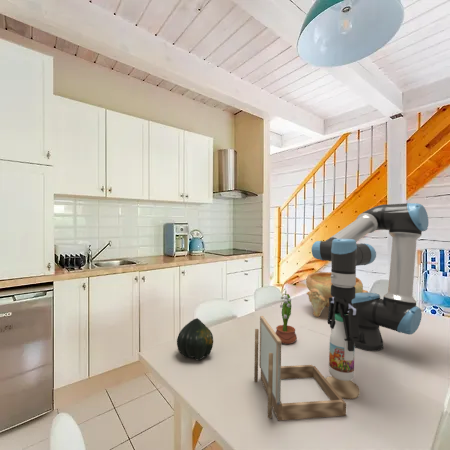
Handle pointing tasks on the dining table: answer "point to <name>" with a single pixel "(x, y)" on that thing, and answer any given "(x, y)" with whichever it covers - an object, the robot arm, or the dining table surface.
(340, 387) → the disc
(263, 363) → the lid
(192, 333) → the squash
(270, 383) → the prop sticks
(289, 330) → the potted flower
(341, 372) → the milk bottle
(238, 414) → the dining table surface
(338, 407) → the cold frame
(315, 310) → the decorative bowl
